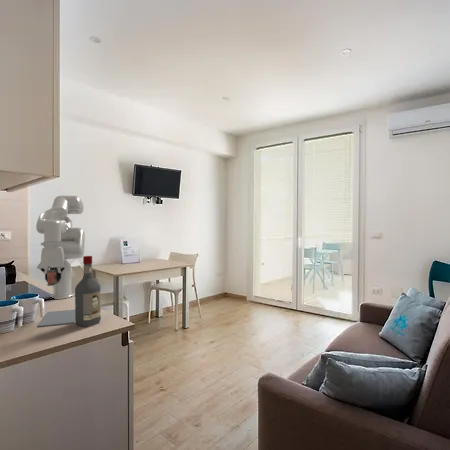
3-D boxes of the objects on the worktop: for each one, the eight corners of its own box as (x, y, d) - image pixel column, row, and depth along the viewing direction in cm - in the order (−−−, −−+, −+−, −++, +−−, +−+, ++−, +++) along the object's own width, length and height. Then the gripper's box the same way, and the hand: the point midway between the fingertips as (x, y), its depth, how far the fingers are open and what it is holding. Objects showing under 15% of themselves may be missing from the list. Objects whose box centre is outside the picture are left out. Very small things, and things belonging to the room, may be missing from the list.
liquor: (72, 324, 139) (71, 256, 138) (90, 318, 147) (89, 254, 146) (86, 327, 135) (85, 258, 134) (103, 321, 143) (103, 255, 142)
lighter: (56, 282, 163) (54, 263, 162) (62, 282, 162) (60, 262, 162) (45, 286, 155) (44, 265, 154) (52, 285, 154) (50, 265, 154)
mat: (47, 313, 154) (47, 311, 154) (78, 310, 159) (78, 309, 159) (38, 327, 135) (38, 325, 135) (73, 323, 140) (73, 322, 140)
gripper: (31, 246, 151) (32, 283, 152) (70, 245, 157) (70, 281, 157) (35, 244, 158) (36, 280, 159) (72, 243, 164) (72, 278, 164)
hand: (53, 280), depth 158 cm, fingers closed on lighter, 4 cm apart
